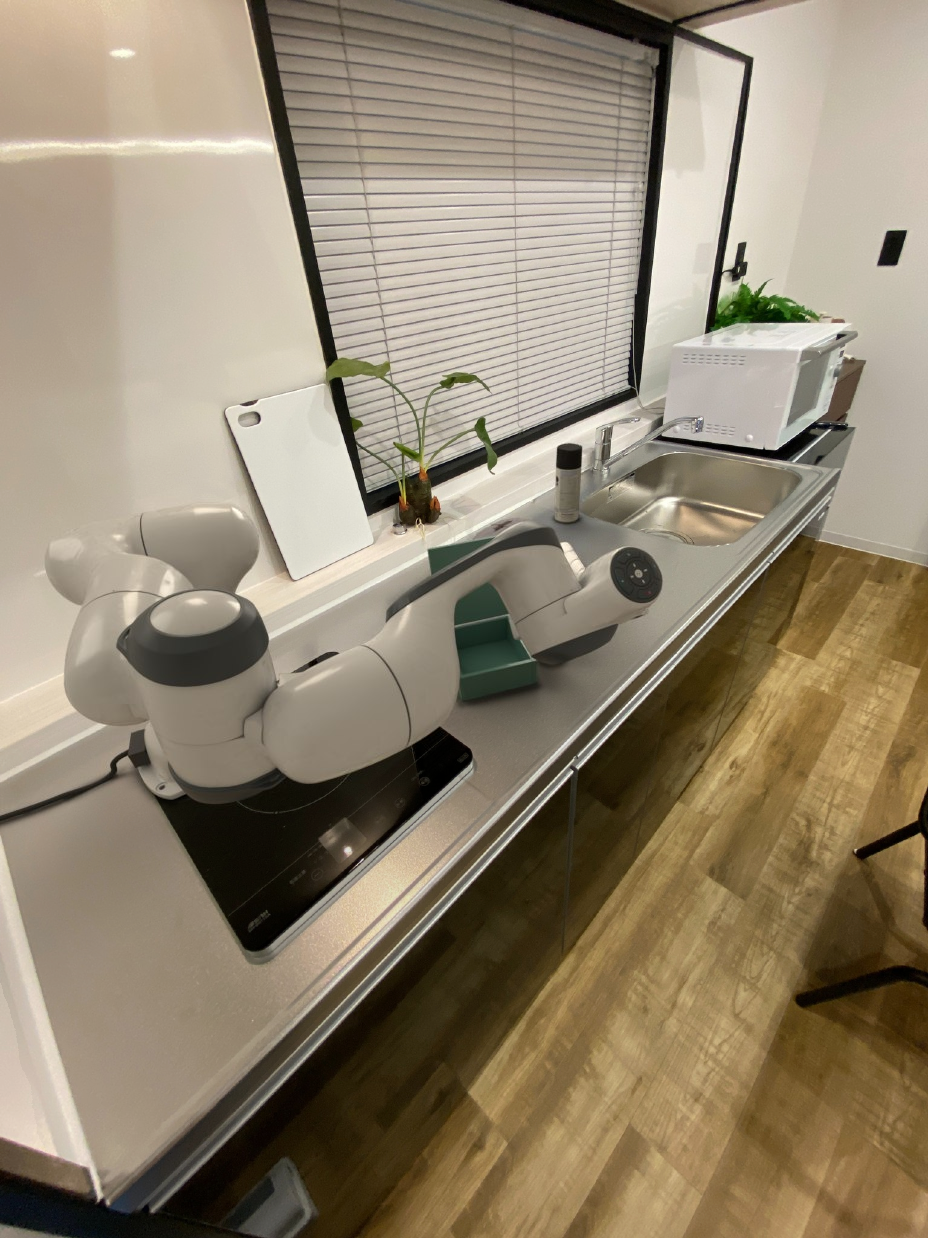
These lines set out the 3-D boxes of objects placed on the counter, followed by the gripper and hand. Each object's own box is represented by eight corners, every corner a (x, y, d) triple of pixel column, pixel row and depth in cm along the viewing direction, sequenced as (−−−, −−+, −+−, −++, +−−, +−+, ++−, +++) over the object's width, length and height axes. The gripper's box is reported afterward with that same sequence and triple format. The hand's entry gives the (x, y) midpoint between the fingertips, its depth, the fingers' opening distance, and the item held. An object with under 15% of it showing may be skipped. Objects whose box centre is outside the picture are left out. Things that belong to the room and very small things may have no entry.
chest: (536, 686, 93) (536, 660, 90) (462, 704, 91) (459, 678, 88) (509, 639, 105) (509, 614, 102) (443, 654, 103) (440, 629, 100)
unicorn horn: (589, 612, 110) (590, 592, 108) (551, 560, 130) (551, 542, 127) (611, 608, 111) (613, 588, 108) (570, 557, 130) (570, 539, 128)
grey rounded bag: (508, 579, 124) (559, 546, 135) (507, 547, 119) (560, 516, 130) (462, 560, 133) (513, 531, 144) (459, 530, 128) (512, 502, 140)
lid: (502, 535, 95) (500, 534, 95) (427, 549, 93) (427, 548, 93) (509, 613, 101) (508, 612, 102) (440, 628, 99) (439, 627, 100)
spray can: (565, 511, 153) (567, 440, 141) (583, 517, 148) (587, 445, 137) (549, 518, 149) (550, 447, 138) (568, 525, 145) (570, 452, 133)
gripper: (527, 641, 74) (507, 654, 88) (659, 611, 78) (620, 628, 91) (515, 598, 75) (497, 618, 89) (646, 570, 79) (610, 593, 92)
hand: (560, 623), depth 90 cm, fingers open, 8 cm apart
